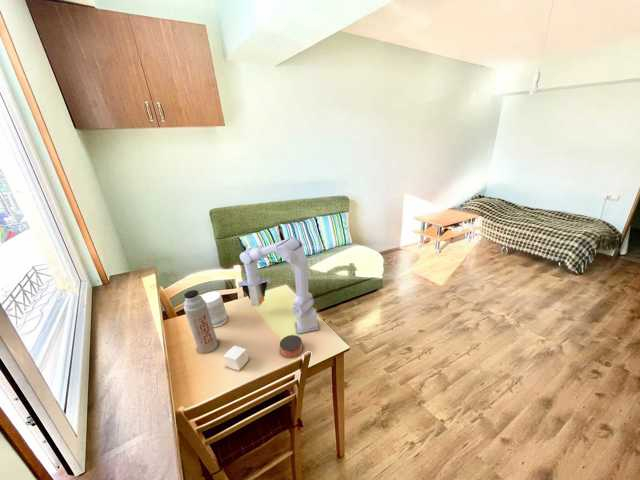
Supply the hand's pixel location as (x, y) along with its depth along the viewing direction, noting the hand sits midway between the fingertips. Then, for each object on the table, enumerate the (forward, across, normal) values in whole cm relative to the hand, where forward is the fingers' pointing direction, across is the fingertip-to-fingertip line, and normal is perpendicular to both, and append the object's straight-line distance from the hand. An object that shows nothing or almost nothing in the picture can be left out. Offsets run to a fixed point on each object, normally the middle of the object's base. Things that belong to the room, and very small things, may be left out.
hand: (257, 296), depth 139 cm
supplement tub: (+10, +20, +1) cm, 23 cm away
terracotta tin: (+10, -13, +31) cm, 35 cm away
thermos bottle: (+10, +22, +18) cm, 30 cm away
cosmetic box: (+4, 0, 0) cm, 4 cm away
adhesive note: (+10, +9, +32) cm, 35 cm away
